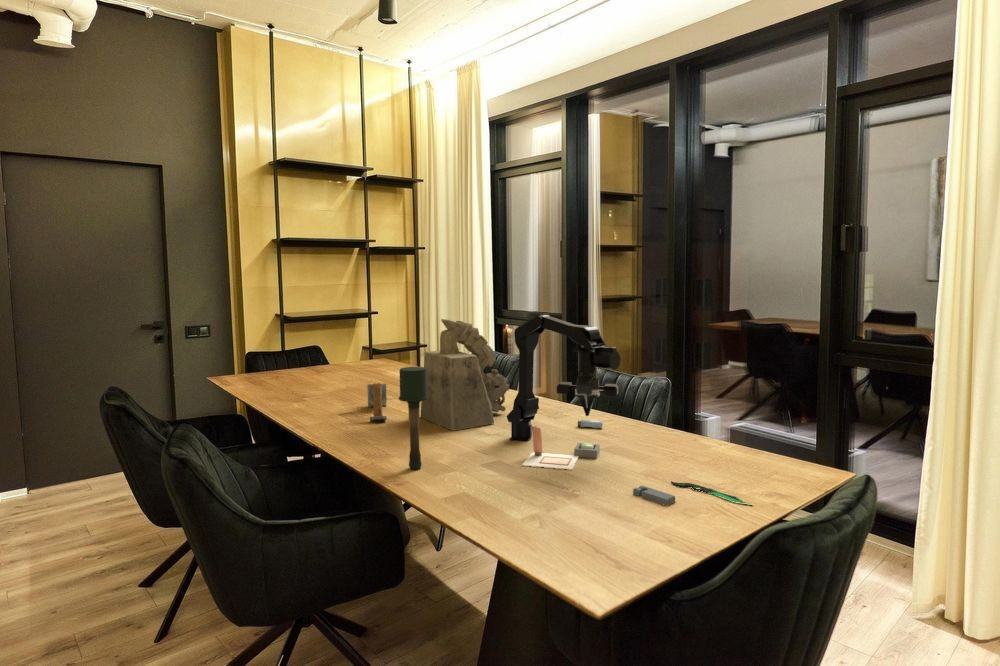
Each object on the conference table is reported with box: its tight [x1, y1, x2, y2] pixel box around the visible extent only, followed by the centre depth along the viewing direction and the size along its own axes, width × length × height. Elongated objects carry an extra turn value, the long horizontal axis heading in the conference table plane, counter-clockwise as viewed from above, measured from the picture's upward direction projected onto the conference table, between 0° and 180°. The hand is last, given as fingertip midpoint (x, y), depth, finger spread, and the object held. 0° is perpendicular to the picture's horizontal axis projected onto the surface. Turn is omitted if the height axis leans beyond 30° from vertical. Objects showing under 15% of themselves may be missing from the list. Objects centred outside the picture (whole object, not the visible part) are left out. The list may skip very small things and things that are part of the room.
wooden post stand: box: [366, 382, 388, 422], centre depth 252 cm, size 8×17×30 cm
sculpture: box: [420, 318, 510, 431], centre depth 241 cm, size 27×33×40 cm
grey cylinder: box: [577, 419, 604, 429], centre depth 227 cm, size 9×3×3 cm
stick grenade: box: [398, 366, 428, 471], centre depth 180 cm, size 8×9×30 cm
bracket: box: [632, 485, 676, 506], centre depth 156 cm, size 4×10×2 cm, turn 39°
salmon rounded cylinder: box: [532, 425, 543, 456], centre depth 192 cm, size 3×3×9 cm
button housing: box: [573, 442, 601, 459], centre depth 194 cm, size 7×7×2 cm
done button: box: [581, 442, 594, 449], centre depth 194 cm, size 4×4×2 cm
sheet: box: [521, 451, 580, 471], centre depth 187 cm, size 15×13×1 cm
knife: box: [670, 480, 750, 504], centre depth 159 cm, size 23×1×5 cm
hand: (587, 415), depth 192 cm, fingers closed
